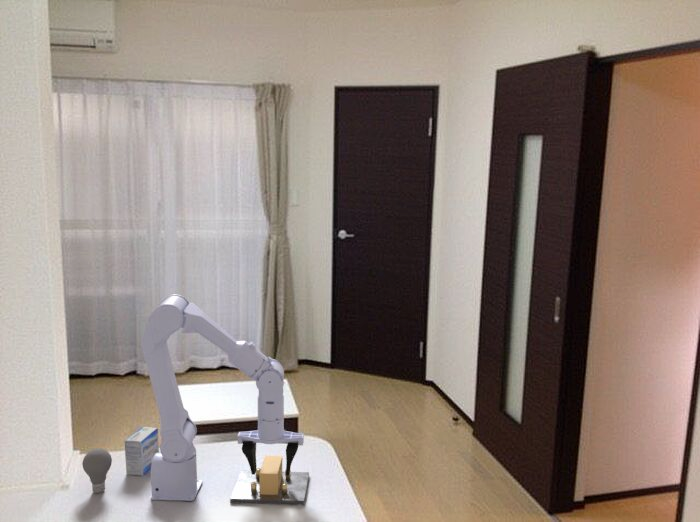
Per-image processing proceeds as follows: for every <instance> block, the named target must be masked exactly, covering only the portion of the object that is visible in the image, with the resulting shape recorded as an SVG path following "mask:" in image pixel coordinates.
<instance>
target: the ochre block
mask: <svg viewBox="0 0 700 522" xmlns="http://www.w3.org/2000/svg"><path fill="white" fill-rule="evenodd" d="M260 469H261V470H260V473H259V489H260V494H263V495H278V492H279V488H280V484H281V480H282V472H283V455H264V457H263V461H262V464H261V467H260Z"/></svg>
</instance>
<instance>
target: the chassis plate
mask: <svg viewBox="0 0 700 522" xmlns="http://www.w3.org/2000/svg"><path fill="white" fill-rule="evenodd" d="M260 470H261V467H260V468H259V467H258V468H257V467H256V472H255V475H252V473H251V470H240V473H239V475H238V478H237V480H236V483H235V486H234V488H233V489H232V490H233V491H232V493H231V496H230V498H229V502H230V504H255V505H257V504H258V505H289V506H291V505H292V506H304V505H305V501H306V495H307V490H308V486H309V485H308V483H309V478H310V472H306V471H304V472H303V471H291V469H290V474H289V476H286V469H285V471H282V480H281V484H280V488H279V492H278V495H263V494H260V489H259V473H260Z"/></svg>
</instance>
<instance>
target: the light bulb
mask: <svg viewBox="0 0 700 522" xmlns="http://www.w3.org/2000/svg"><path fill="white" fill-rule="evenodd" d="M112 462H113V459H112V455H111V454H110V452H109V451H108V450H107V449H105V448H102V447H98V448H93V449H91V450H89V451H88V452H87V453H86V454H85V455H84V456H83V459H82V469H83V471H84V473H86V475H87V476H88V477H89V481H90V483H91V487H92V492H93V493H95V494H99V493H101V492H104V491H105V489H106V480H107V474H108V473H109V470H111V469H110V468H111V466H112Z"/></svg>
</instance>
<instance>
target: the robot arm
mask: <svg viewBox="0 0 700 522" xmlns="http://www.w3.org/2000/svg"><path fill="white" fill-rule="evenodd" d="M146 320H147V321H146V325H145V326H144V329H143V332H142V335H141V338H140V345H141V349H142V353H143V357H144V361H145V364H146V369H147V373H148V375H149V379H150V383H151V387H152V390H153V393H154V398H155V401H156V402H155V403H156V406H157V409H158V413H159V416H160V428H159V429H160V430H159V431H160V438H161V441H160V444H159V445H160V446H159V453H156V454H155V455H154V457H153V460H152V464H151V469H150V485H151V487H150V488H151V495H150V500H153V501H155V500H157V501H183V502H184V501H186V502H193V501H194V500H195V498H196V496H197V495H198V493H199V491H200V488H201V486H202V485H203V480H201V479H198V473H197V472H198V470H197V468H198V467H197V465H198V464H197V449H196V447H195V445H194V443H193V442H194V439H196V435H197V433H198V430H197V429H198V428H197V426H196V423H195V422H194V421H193V420H192V419H191V417H190V415H189V412H188V410H187V409H185V407H184V403H183V401H182V397H181V392H180V388H179V385H178V382H177V381H178V380H177V377H176V374H175V370H174V365H173V362H172V359H171V355H170V351H169V347H168V343H167V342H168V340H169V338H170V337H172V335H174V334H175V333H177V331H179V330H180V329H181V328H182V331H181V334H193V333H194V334H195V333H196V334H199V335H200V336H201V337H203V338H204V339H206V340H207V341H209V342H210V343H212V344H213V345H214V346H216V347H217V348H219V349H220V350H221V351H223V352H224V353H226V354H227V358H228V363H230V365H233V366H234V367H235V368H236V369H237V370H239V371H240V372H241V373H243V374H244V375H246V376H247V377H248V378H250V379H251V380H252V381H255V385H256V388H257V390H258V395H257V430H250V431H249V430H248V431H238V434H237V444H239V445H240V444H241V445H242V446H241V451H242V453H243V454H244V456H245V458H246V460H247V462H248V465H249V468H250V471H251V473H252V475H255V472H256V469H257V454H256V453H257V444H264V445H275V444H284V445H285V444H286V448H285V456H286V458H285V459H286V463H285V464H286V467H285V470H286V476H289V474H290V470H291V466H292V463H293V461H294V458H295V456H296V454H297V452H298V450H299V449H298V448H299V446H304V442H305V441H304V440H305V436H304V435H305V434H304V433H301V432H300V433H299V432H293V431H287V430H285V427H284V426H285V424H284V423H285V417H284V415H285V412H284V411H285V407H284V406H285V404H284V403H285V396H284V384H285V381H284V378H285V370H284V367H283V365H282V364H281V363H280V361H279V360H277V359H274V358H272V357H271V356H268V357H267V356H266V355H265V354H263V353H262V352H261V351H260V350H258V349H257V348H256V346H257V345H256V343H254V342H253V341H250V342H248V341H247V340H236V339H235V337H233V336H232V335H231V334H229V333H228V331H226V330H225V329H224V328H222V327H221V325H219V324H218V323H216V321H214V320H213V319H212V318H211V317H210V316H208V314H206V313H205V312H204V311H203V310H202V309H200V307H198V306H197V304H195V303H193V302H192V301H189V300H188V299H187V298H186V296H183V295H181V294H169V295H168V296H167V297H165V298H164V299H163V301H161V303H160V304H158V306H157V307H156V308H155V309H154V310H153V311H152V312H151V314H150V315H148V317H147V319H146Z"/></svg>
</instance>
